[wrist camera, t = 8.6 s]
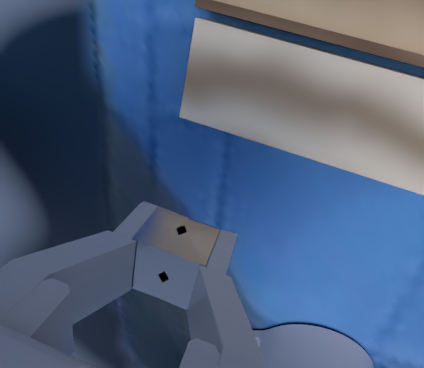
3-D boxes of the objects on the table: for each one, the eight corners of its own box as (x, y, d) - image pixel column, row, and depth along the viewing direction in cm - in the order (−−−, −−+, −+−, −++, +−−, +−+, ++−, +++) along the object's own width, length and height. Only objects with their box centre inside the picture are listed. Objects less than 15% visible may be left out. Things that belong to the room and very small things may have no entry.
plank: (419, 182, 22) (430, 197, 20) (188, 110, 25) (179, 116, 23) (485, 94, 19) (506, 101, 17) (205, 18, 21) (195, 17, 19)
